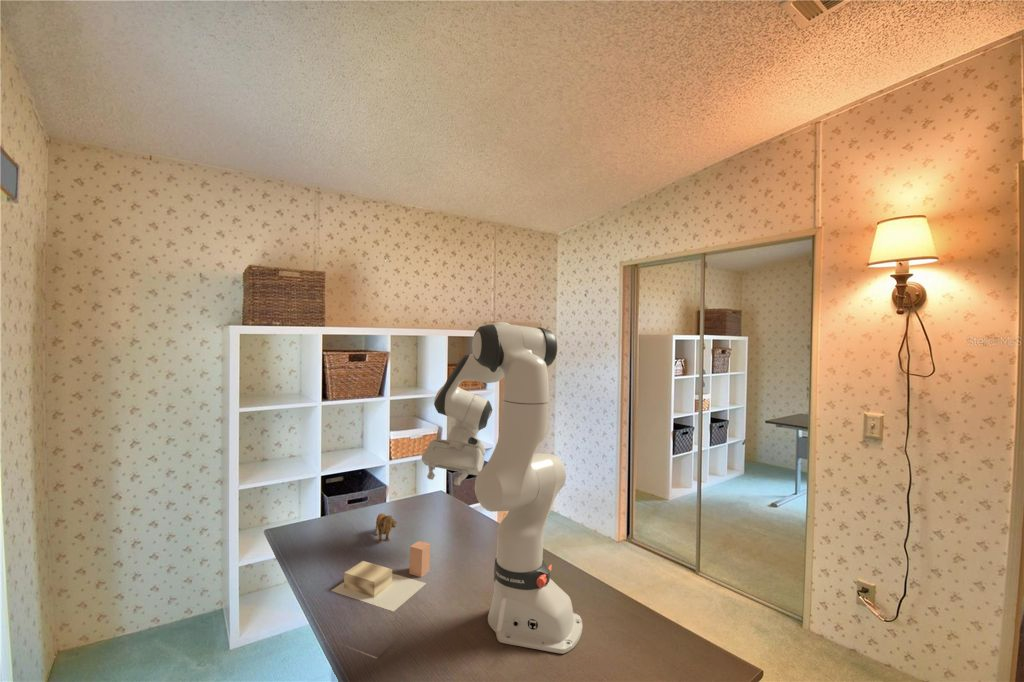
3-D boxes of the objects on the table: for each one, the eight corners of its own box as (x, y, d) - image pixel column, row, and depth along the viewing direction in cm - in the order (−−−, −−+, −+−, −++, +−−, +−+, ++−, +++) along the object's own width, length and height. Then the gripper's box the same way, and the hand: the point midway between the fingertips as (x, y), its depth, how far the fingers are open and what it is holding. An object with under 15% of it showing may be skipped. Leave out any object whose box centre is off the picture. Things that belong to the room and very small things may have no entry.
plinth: (391, 584, 123) (392, 569, 123) (374, 597, 116) (374, 581, 116) (362, 575, 127) (362, 560, 127) (343, 587, 120) (344, 572, 120)
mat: (426, 584, 124) (426, 583, 124) (393, 612, 111) (393, 611, 111) (367, 567, 132) (367, 566, 132) (330, 591, 119) (330, 590, 119)
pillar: (429, 571, 130) (430, 543, 130) (421, 578, 127) (422, 549, 127) (417, 568, 132) (418, 540, 132) (409, 574, 128) (410, 546, 128)
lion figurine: (398, 544, 146) (398, 516, 146) (381, 548, 143) (382, 519, 143) (383, 527, 159) (383, 501, 158) (367, 530, 156) (368, 504, 155)
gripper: (429, 432, 150) (410, 470, 142) (485, 442, 143) (469, 482, 134) (435, 443, 155) (417, 480, 146) (490, 452, 147) (475, 492, 138)
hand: (443, 481), depth 140 cm, fingers open, 8 cm apart
